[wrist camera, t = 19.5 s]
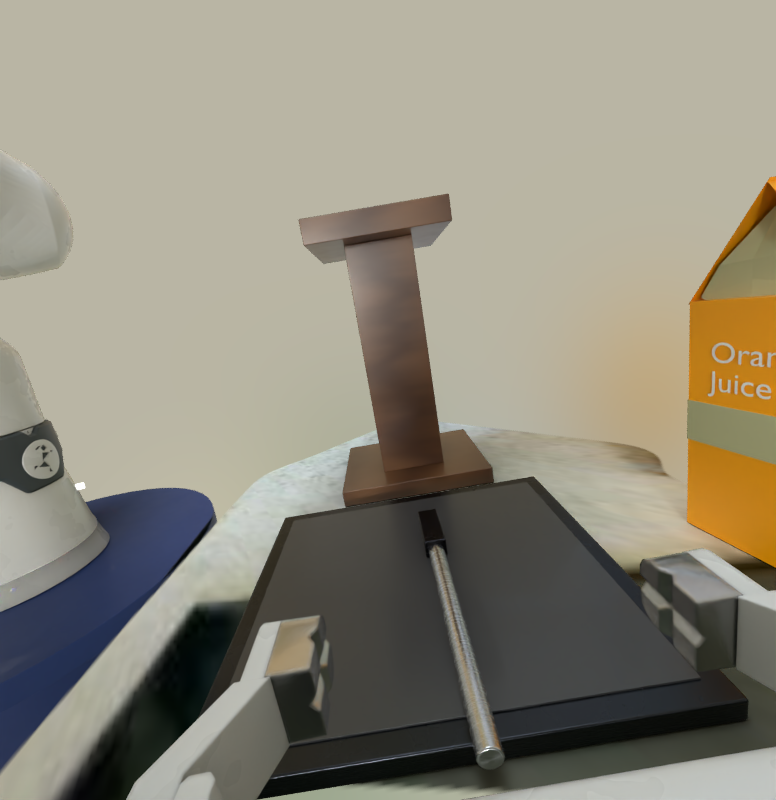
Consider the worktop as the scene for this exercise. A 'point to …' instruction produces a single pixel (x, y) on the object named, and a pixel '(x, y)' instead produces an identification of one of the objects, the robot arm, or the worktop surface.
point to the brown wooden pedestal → (395, 351)
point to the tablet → (489, 631)
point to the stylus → (462, 648)
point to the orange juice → (736, 389)
